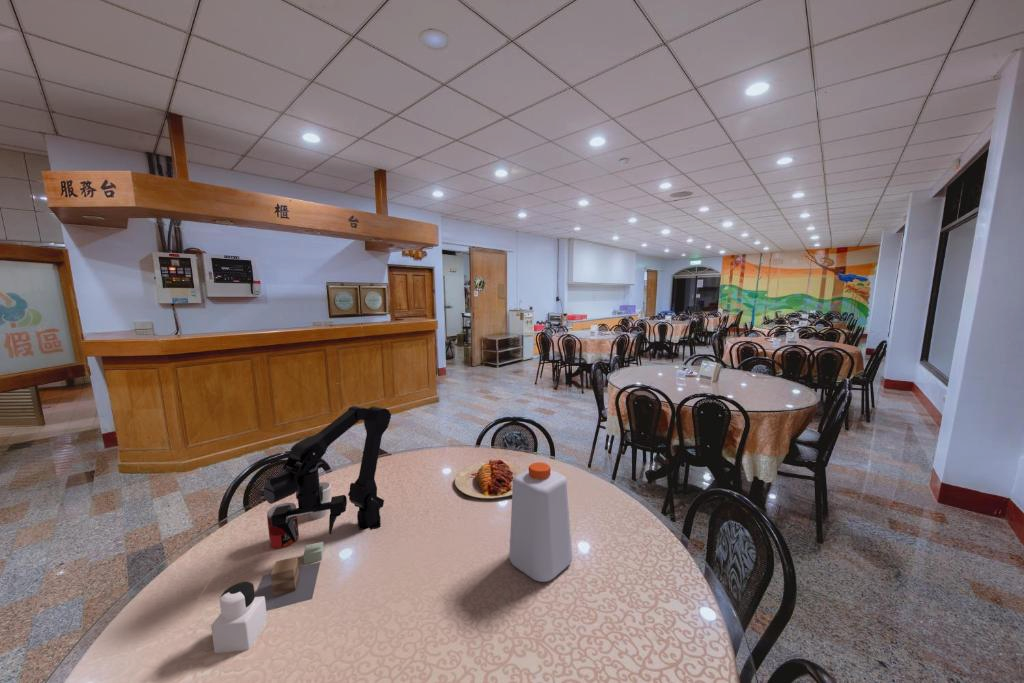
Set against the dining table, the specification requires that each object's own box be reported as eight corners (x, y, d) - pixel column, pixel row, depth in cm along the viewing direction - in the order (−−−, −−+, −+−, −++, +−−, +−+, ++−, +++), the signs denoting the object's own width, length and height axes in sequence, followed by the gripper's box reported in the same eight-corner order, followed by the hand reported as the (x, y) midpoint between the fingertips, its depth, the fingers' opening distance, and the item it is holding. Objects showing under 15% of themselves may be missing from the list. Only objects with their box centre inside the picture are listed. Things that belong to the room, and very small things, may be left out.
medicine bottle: (236, 626, 85) (230, 578, 84) (268, 623, 86) (263, 576, 84) (213, 655, 78) (207, 604, 77) (249, 652, 79) (243, 601, 77)
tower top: (298, 566, 99) (297, 556, 98) (294, 580, 94) (293, 569, 94) (276, 571, 97) (275, 561, 97) (271, 585, 92) (270, 574, 92)
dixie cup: (337, 508, 133) (335, 481, 132) (323, 521, 125) (321, 494, 124) (316, 507, 134) (313, 481, 133) (300, 520, 126) (298, 493, 125)
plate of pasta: (543, 499, 135) (542, 481, 135) (449, 504, 136) (447, 486, 135) (538, 464, 166) (537, 449, 166) (461, 468, 167) (460, 453, 166)
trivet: (320, 563, 105) (320, 561, 105) (312, 600, 92) (312, 598, 92) (263, 577, 100) (263, 575, 100) (246, 618, 87) (245, 616, 87)
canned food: (286, 551, 110) (282, 517, 109) (263, 548, 112) (260, 514, 111) (305, 535, 118) (302, 503, 117) (283, 533, 119) (280, 501, 118)
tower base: (299, 577, 99) (298, 566, 99) (295, 590, 94) (294, 580, 94) (278, 582, 97) (276, 571, 97) (272, 596, 93) (271, 585, 92)
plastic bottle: (538, 536, 115) (537, 450, 112) (578, 560, 104) (578, 465, 101) (503, 561, 104) (500, 467, 101) (543, 590, 93) (542, 485, 90)
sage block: (324, 552, 110) (323, 541, 109) (322, 562, 106) (321, 551, 105) (307, 556, 108) (306, 545, 108) (304, 566, 104) (303, 555, 104)
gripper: (346, 468, 115) (350, 515, 117) (277, 479, 109) (282, 528, 111) (343, 485, 105) (347, 535, 107) (267, 498, 99) (272, 552, 100)
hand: (313, 537), depth 106 cm, fingers open, 9 cm apart
